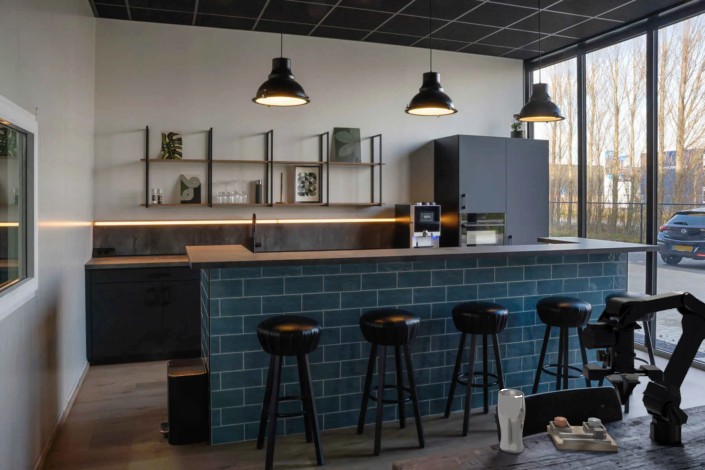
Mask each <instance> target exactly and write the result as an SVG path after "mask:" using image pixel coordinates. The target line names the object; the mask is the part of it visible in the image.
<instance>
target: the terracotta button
mask: <svg viewBox="0 0 705 470" xmlns="http://www.w3.org/2000/svg"><path fill="white" fill-rule="evenodd" d="M554 421H555V425H556V426H558V427H566V426H567V422H568V420H567V418H565V417H563V416H556V417H554Z"/></svg>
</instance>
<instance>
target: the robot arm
mask: <svg viewBox="0 0 705 470" xmlns="http://www.w3.org/2000/svg"><path fill="white" fill-rule="evenodd" d="M673 309H676V311H677V312H678V313H679V314H680V315H681V316H682V317H681V321H680V323H681V324H680V325H681V330H682V332H681V335H680V337H679V339H678V341H677V343H676V346H674V349H673V351H672V354H671V356H670V358H669V360H668V362H667V364H666V365H665V368H664V370H662V369H661V368H659V367H657V366H656V365H654V364H640V365H639V368H636V367H635V358H636V357H637V353H636V352H635V330H642V328H643V327H642V325H640V324H638V322H637V321H640V320H641V319H643V318H644V317H645V316H647V315H649V314H653V313H659V312H664V311H669V310H673ZM580 340H581V342H582V345H583V347H584V348H585V349H587V350H589V351H590V350H596V352H595V357H596V362H597V363H603V366H606V367H607V368H603V367H602V366H600V365H599V364H584V365H583V366H582V372H581V373H582V375H583V377H585V378H586V379H587V380H588V381H591V382H592V381H596V382H601V381H603V380H604V379H605V380H606V381H608V382H609V383H610V384H612V386H613V389H614V390H615V394H616V396H617V399H618V401H619V404H620V406H625V405H626V404H627V401H628V400H629V398H630V396H631V394H632V393H633V391H634V390H635V388H636V387H637V386H638V385H641V383H642V381H640V380H639V378H640V377H647V378H648V380H650V381H648V382H647V384H646V387H645V389H644V391H643V392H642V393H641V394H642V395H643V396H642V399H641V401H642V402H643V403H642V404H643V406H644V408H645V409H646V413H647V414H648V415H650V416H651V421H650V422H649V434H648V435H649V436H648V437H650V438H651V439H652V440H653V441H654V442H655V443H656V444H657V445H658V446H661V447H663V446H667V447H685V445H686V444H685V443H684V442H683V441H682V427H683V425H686V424H687V422H688V420H689V415H688V414H687V413H686V412H685V411H684V410H683V409H682V408H681V407H680V406H681V404H682V393H681V387H682V385H683V383H684V380H685V379H686V377H687V375H688V372H689V371H690V368H691V365H692V364H693V362H694V360H695V358H696V356H697V353H698V352H699V349H700V348H701V345H702V343H703V342H704V341H705V302H704V301H702V300H700V298H699V299H698V298H697V297H696V296H695V295H693V293H691V292H688V291H684V290H673V291H671V292H665V293H659V294H655V295H649V296H644V297H637V298H633V297H632V298H631V297H611V298H610V299H608V302H607V303H606V306H605V307H604V309H603V311H602V312H601V313H600V315H599V317H598V319H597V321H596V322H586V327H584V328H583V329H582V331H581V333H580ZM605 349H608V352H606V350H605Z"/></svg>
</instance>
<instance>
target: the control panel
mask: <svg viewBox="0 0 705 470" xmlns="http://www.w3.org/2000/svg"><path fill="white" fill-rule="evenodd" d="M600 428H601V429H602V430H603V431H604V439H594V438H593V427H590V426H588V421H587V422H586V421H583V422H582V426H580V425H574V426H573V425H570V423H569V422H568V421H567V426H566V427H558V426H556V425H555V420H554V421H553V420H551V421H549V425H546V429H547V430H546V431H547V432H548V434H549V435H550V434H551V435H552V438H553V440H554V441H553V440H552V441H553V443H554V442H555V443H554V445H555V444H556V445H555V447H556V448H557V449H558V450H574V451H575V450H577V451H578V450H580V451H602V452H603V451H605V452H607V451H609V452H618V449H619V448H618V446H619V445H618V444H617V442H615V440H614V439H613V438H612V437H611V435H610V434H609V433H608V432H607V428H606V427H605V426H604V425H603V423H601V427H600ZM552 438H551V439H552Z"/></svg>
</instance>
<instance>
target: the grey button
mask: <svg viewBox="0 0 705 470" xmlns="http://www.w3.org/2000/svg"><path fill="white" fill-rule="evenodd" d="M587 422H588V426H590V427H593V428H600V427H601V424H602V420H601V419H599V418H596V417H588V419H587Z"/></svg>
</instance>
